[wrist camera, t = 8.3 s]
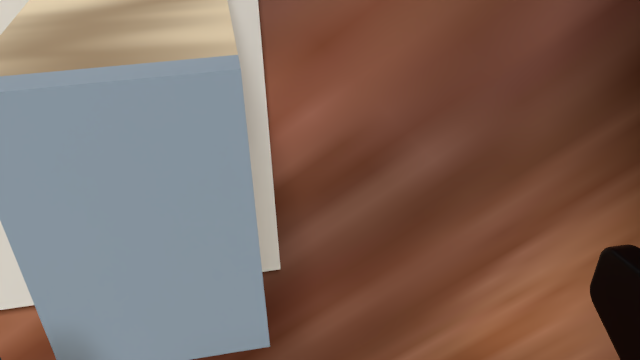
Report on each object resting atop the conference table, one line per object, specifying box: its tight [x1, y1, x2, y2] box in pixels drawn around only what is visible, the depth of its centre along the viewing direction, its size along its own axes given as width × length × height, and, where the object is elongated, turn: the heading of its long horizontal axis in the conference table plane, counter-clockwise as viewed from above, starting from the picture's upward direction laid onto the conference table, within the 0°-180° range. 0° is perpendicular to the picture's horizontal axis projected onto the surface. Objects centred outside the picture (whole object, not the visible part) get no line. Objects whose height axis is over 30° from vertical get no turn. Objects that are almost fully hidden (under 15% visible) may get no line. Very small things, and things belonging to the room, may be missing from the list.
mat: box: [0, 0, 280, 310], centre depth 16 cm, size 14×16×1 cm
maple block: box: [0, 0, 270, 360], centre depth 13 cm, size 4×6×8 cm, turn 2°
